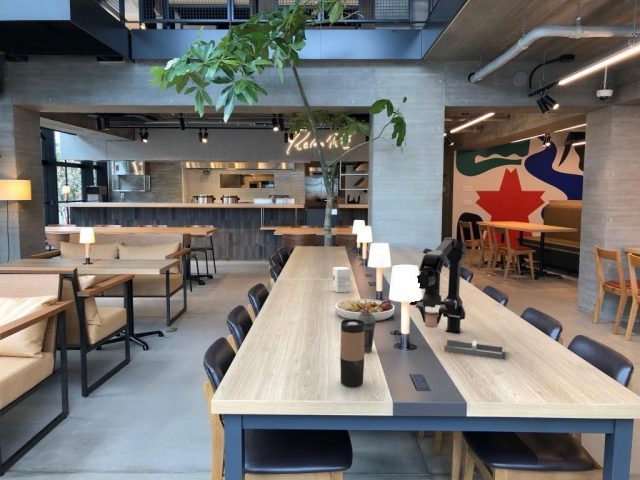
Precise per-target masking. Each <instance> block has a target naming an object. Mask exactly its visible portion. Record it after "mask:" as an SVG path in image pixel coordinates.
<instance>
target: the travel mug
mask: <svg viewBox="0 0 640 480" xmlns="http://www.w3.org/2000/svg"><path fill="white" fill-rule="evenodd" d="M364 329H365V323H364V321H361V320H357V319H343V320H342V321H341V322H340V350H339V351H340V352H339V353H340V357H339V358H340V359H339V360H340V384H341V385H342V386H344V387H346V388H358V387H361V386H362V385H363V383H364V369H365V353H364Z"/></svg>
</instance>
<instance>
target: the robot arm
mask: <svg viewBox="0 0 640 480" xmlns="http://www.w3.org/2000/svg"><path fill="white" fill-rule="evenodd" d="M467 249H468V248H467V246H466V245H465V243H463V242H462V241H459V240H457V238H455V237H444V238H443V239H442V242H440V244H439V245H438V246H437V247H436V248H435V249H434V250H431V251H428V252H426V253H425V254H424V256H423V257H422V260H421V264H420V267H419V269H418V270H419V272H420V274H418V275H417V276H416V277H417V278H418V283H420V287H419V289H420V290H424V292H423V296H422V298H420V299H421V300H420V301H415V302H411V303H410V305H409V306H415V308H417V309H418V310H419V312H420V315H421V319H422V321H423V323H424V324H425V311H426V308H427V307H429V308H436V307H437V306H439V307H438V308H439V309H438V313H439V314H438V320H437V324H438V325H440V322H441V319H442V317H444V318H447V319H446V323H447V324H446V328H445V330H444V332H446V333H447V332H448V333H455V334H461V333H462V328H461V322H462V321H463V320H465V319H466V315H467V314H466V311H465V309H464V306H463V300H462V298H461V297H460V287H461V286H460V282H461V266H462V262H463V261H464V259H466V254H467ZM445 258H446V259H447V260H448V262H449V269H448V270H449V271H448V288H447V289H448V290H447V296H446V298H444V299H443V300H442V295H441V293H440V292H441V291H440V290H441V273H442V269H443V267H444V264H445ZM461 320H462V321H461Z"/></svg>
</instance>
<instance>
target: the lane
mask: <svg viewBox="0 0 640 480" xmlns="http://www.w3.org/2000/svg"><path fill="white" fill-rule="evenodd" d="M472 343H473V341H472V342H469V341H464V340H463V341H462V340H455V339H446V344H445V345H444V346H443V347H444V348H443V350H444V352H447V353H453V354H461V355H469V356H477V357H482V358H483V357H484V358H490V359H498V360H506V350H507V348H506V347H507V344H505V343H502V345H497V344H496V345H495V344H486V343H479V342H477V350H476V349H472Z"/></svg>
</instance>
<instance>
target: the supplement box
mask: <svg viewBox="0 0 640 480" xmlns="http://www.w3.org/2000/svg"><path fill="white" fill-rule="evenodd" d="M333 290H334V291H333ZM332 291H333V292H335V291H336V292H335V293H337V292H344V293H351V268H349V267H346V266H338V267H337V266H334V267H332Z"/></svg>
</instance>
